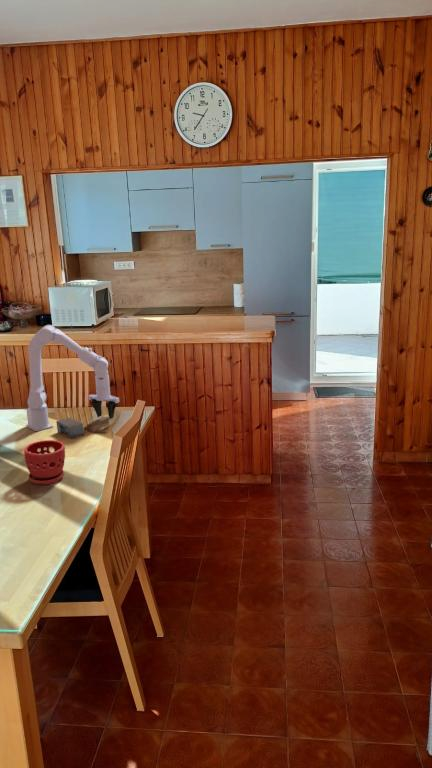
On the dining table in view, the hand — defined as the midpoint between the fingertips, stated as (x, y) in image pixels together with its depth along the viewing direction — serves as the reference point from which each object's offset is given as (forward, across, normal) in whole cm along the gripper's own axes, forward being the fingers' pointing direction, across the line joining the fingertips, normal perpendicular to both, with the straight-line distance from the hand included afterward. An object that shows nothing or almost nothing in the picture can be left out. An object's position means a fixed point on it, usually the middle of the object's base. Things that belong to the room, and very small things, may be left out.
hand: (105, 417), depth 254 cm
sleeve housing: (+3, -6, -16) cm, 17 cm away
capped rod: (+3, 0, -4) cm, 5 cm away
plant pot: (+3, +15, -55) cm, 57 cm away
